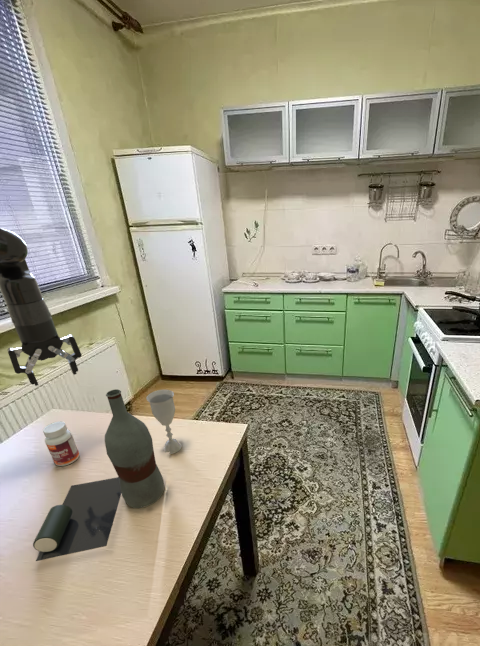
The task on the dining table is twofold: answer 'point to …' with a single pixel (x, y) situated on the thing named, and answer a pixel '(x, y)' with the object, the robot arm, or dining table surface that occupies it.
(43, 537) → the sushi roll
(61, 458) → the pill bottle
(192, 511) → the dining table surface
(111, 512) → the slate board
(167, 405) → the chalice
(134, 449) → the vodka
